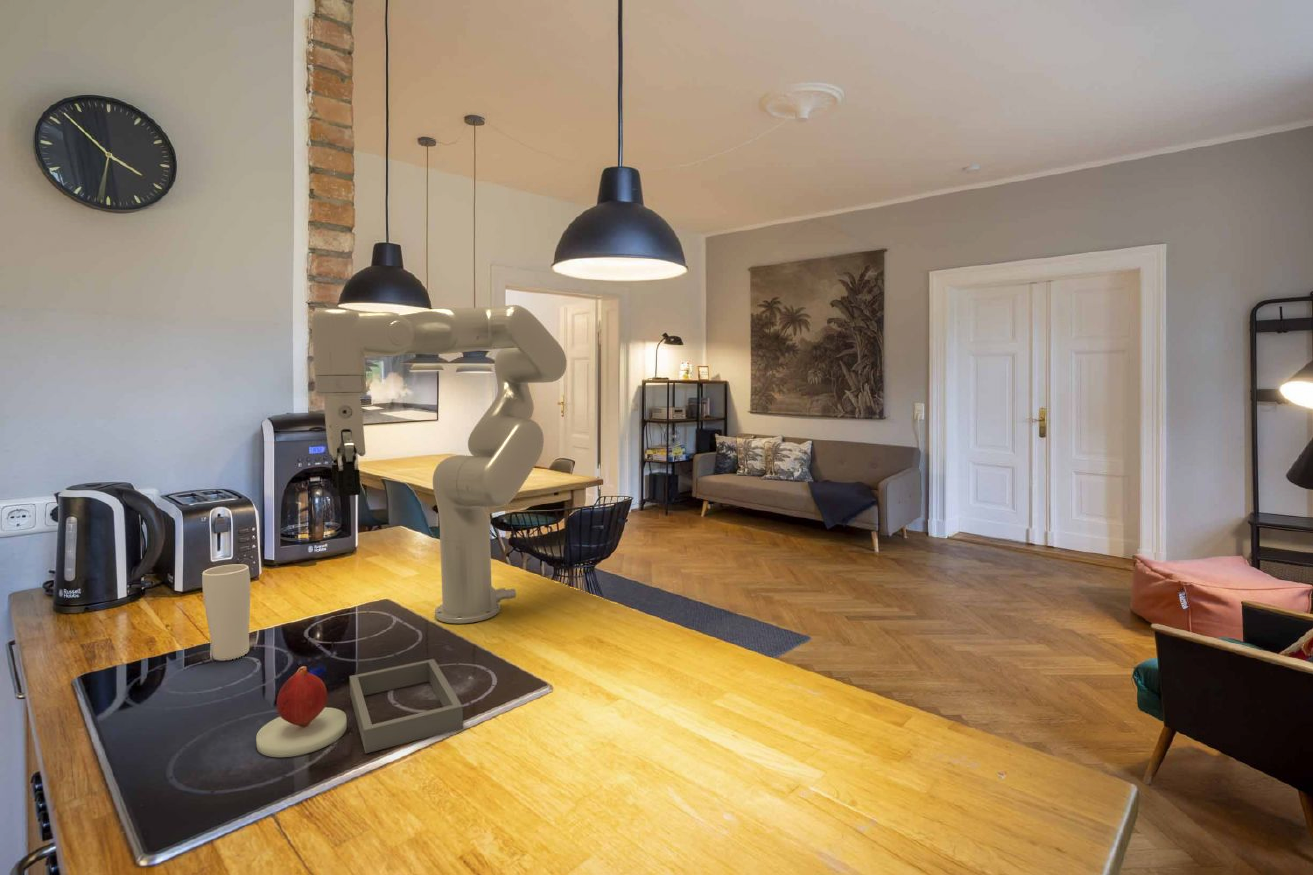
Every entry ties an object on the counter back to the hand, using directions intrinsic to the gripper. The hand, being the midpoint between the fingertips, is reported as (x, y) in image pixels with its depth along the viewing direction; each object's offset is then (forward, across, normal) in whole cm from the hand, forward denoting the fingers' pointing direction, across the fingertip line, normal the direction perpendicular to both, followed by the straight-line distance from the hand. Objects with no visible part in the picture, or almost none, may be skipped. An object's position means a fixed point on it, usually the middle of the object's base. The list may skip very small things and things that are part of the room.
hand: (346, 491), depth 110 cm
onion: (+27, -24, +8) cm, 37 cm away
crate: (+28, -24, -4) cm, 37 cm away
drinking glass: (+28, +12, +18) cm, 36 cm away
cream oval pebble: (+28, -24, +9) cm, 38 cm away
